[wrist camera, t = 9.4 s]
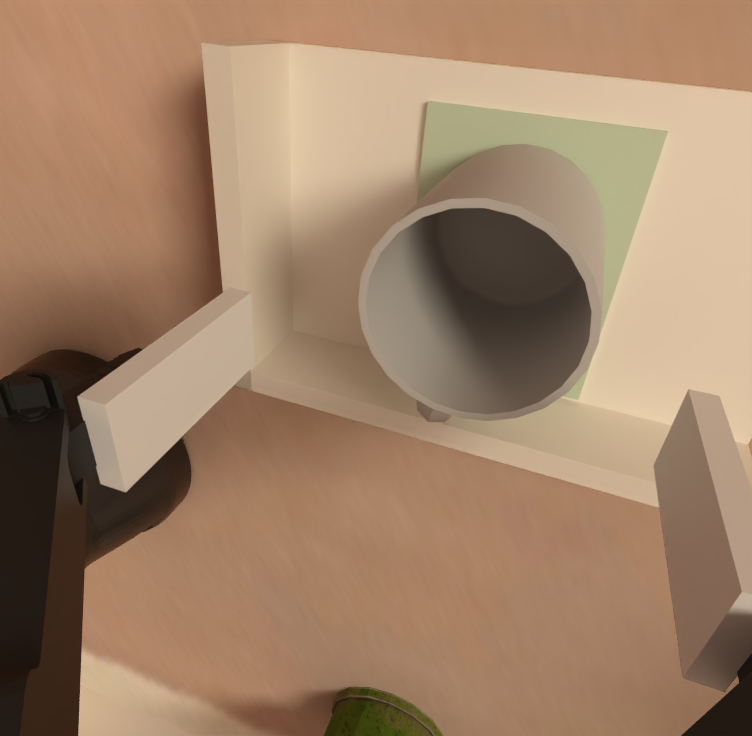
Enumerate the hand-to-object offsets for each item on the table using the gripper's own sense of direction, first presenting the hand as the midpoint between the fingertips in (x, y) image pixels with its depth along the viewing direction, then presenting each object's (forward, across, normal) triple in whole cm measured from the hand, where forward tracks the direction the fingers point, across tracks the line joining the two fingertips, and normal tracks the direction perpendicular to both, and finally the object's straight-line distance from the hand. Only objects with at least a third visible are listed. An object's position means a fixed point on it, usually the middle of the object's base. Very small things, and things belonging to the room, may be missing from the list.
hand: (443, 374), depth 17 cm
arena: (+10, +1, 0) cm, 11 cm away
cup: (+10, 0, 0) cm, 10 cm away
